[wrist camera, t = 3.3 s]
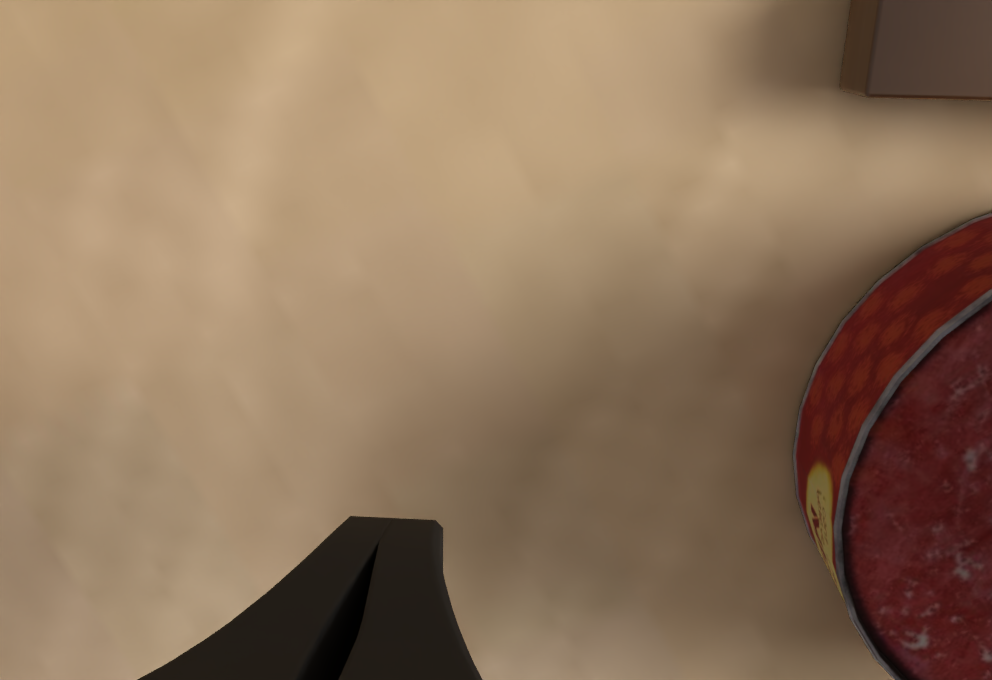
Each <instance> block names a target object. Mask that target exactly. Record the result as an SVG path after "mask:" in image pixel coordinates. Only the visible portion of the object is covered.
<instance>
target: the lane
mask: <svg viewBox="0 0 992 680" xmlns="http://www.w3.org/2000/svg"><path fill="white" fill-rule="evenodd" d="M840 89H841V90H843V91H846V92H849V93H853V94H857V95H860V96H864V97H868V98H905V99H945V100H986V101H992V0H851V7H850V14H849V21H848V29H847V36H846V43H845V50H844V57H843V64H842V72H841V79H840Z"/></svg>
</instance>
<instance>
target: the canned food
mask: <svg viewBox="0 0 992 680" xmlns="http://www.w3.org/2000/svg"><path fill="white" fill-rule="evenodd" d="M793 461H794V473H795V486H796V496H797V499H798V503H799V506H800V509H801V512H802V515H803V518H804V521H805V525H806V528H807V531H808V534H809V536H810V538H811V539H812V541H813V543H814V544H815V546H816V548H817V549H818V551H819V553H820V554H821V556H822V558H823V560H824V562H825V564H826V566H827V568H828V570H829V572H830V574H831V576H832V578H833V580H834V582H835V584H836V586H837V588H838V590H839V592H840V594H841V596H842V598H843V600H844V602H845V604H846V607H847V610H848V613H849V617H850V619H851V621H852V623H853V624H854V626H855V628H856V629H857V631H858V633H859V634H860V636H861V638H862V639H863V641H864V643H865V644H866V646H867V648H868V649H869V651H870V653H871V654H872V656H873V658H874V659H875V660H876V661H877V662H878V663H879V664H880V665H881V666H882V667H883V668H884V669H885V670H886V671H887V672H888V673H889V674H890V675H891V676H892V677H893V678H894V679H895V680H992V213H989V214H986V215H984V216H981V217H978V218H975V219H972V220H970V221H968V222H966V223H964V224H962V225H961V226H959V227H957V228H955V229H953V230H951V231H950V232H948V233H946V234H944V235H942V236H940V237H939V238H937V239H935V240H933V241H931V242H929V243H927V244H926V245H924V246H922V247H920V248H919V249H918V250H917V251H915V252H914V253H913V254H912V255H910V256H909V257H908V258H906V259H905V260H904V261H903V262H901V263H900V264H899V265H898V266H896V267H895V268H894V269H893V270H891V271H890V272H889V273H887V274H886V275H885V276H884V277H882V278H881V279H880V280H879V281H877V282H876V284H875V285H874V286H873V287H872V288H871V289H870V290H869V291H868V292H867V294H866V295H865V296H864V297H863V298H862V299H861V300H860V301H859V303H858V304H857V305H856V306H855V307H854V308H853V309H852V310H851V311H850V313H849V314H848V315H847V316H846V317H845V318H844V319H843V320H842V322H841V323H840V325H839V327H838V328H837V330H836V332H835V333H834V335H833V337H832V338H831V340H830V341H829V343H828V345H827V346H826V348H825V350H824V351H823V353H822V355H821V356H820V358H819V360H818V361H817V363H816V365H815V367H814V370H813V373H812V376H811V378H810V381H809V384H808V386H807V389H806V392H805V395H804V397H803V400H802V403H801V405H800V408H799V414H798V421H797V428H796V435H795V442H794V449H793Z"/></svg>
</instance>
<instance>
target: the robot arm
mask: <svg viewBox="0 0 992 680" xmlns="http://www.w3.org/2000/svg"><path fill="white" fill-rule="evenodd" d="M138 680H482V678H481V676H480V674H479V672H478V670H477V668H476V666H475V664H474V662H473V660H472V658H471V656H470V654H469V651H468V649H467V647H466V644H465V642H464V639H463V637H462V634H461V632H460V629H459V626H458V624H457V621H456V618H455V615H454V612H453V609H452V606H451V602H450V598H449V595H448V591H447V587H446V584H445V580H444V575H443V528H442V526H441V525H440V524H439V523H438V522H437V521H436V520H421V519H399V518H378V517H356V516H350V517H349V518H348V519H347V520H346V521H345V522H343V523H342V524H341V525H340V526H339V527H338V528H337V529H336V530H335V531H334V532H333V533H331V534H330V535H329V536H328V537H327V538H326V539H325V540H324V541H323V542H322V543H321V544H320V545H319V546H318V547H317V548H316V549H315V550H314V551H313V552H312V553H310V554H309V555H308V556H307V557H306V558H305V559H304V560H303V561H302V562H301V563H300V564H299V565H298V566H296V567H295V568H294V569H293V570H292V571H291V572H290V573H289V574H287V575H286V576H285V577H284V578H283V579H282V580H281V581H280V582H278V583H277V584H276V585H275V586H274V587H273V588H272V589H271V590H269V591H268V592H267V593H266V594H265V595H263V596H262V597H261V598H260V599H258V600H257V601H256V602H255V603H253V604H252V605H251V606H250V607H248V608H247V609H246V610H245V611H243V612H242V613H241V614H240V615H238V616H237V617H236V618H234V619H233V620H232V621H231V622H229V623H228V624H226V625H225V626H224V627H222V628H221V629H220V630H218V631H217V632H215V633H214V634H212V635H211V636H209V637H208V638H207V639H205V640H204V641H202V642H200V643H199V644H197V645H196V646H194V647H193V648H191V649H190V650H188V651H186V652H185V653H183V654H182V655H180V656H179V657H177V658H175V659H174V660H172V661H170V662H169V663H167V664H165V665H164V666H162V667H160V668H158V669H156V670H154V671H153V672H151V673H149V674H147V675H145V676H143V677H141V678H140V679H138Z"/></svg>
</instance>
